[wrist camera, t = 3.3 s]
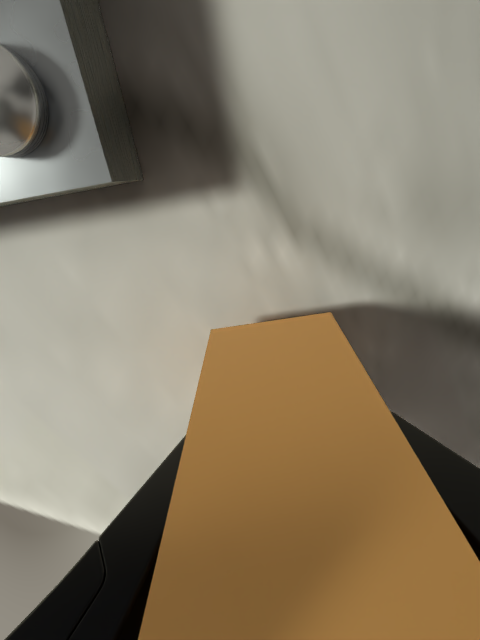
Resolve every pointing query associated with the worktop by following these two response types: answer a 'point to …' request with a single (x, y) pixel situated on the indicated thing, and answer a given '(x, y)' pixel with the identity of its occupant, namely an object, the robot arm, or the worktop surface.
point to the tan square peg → (304, 505)
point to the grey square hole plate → (60, 103)
